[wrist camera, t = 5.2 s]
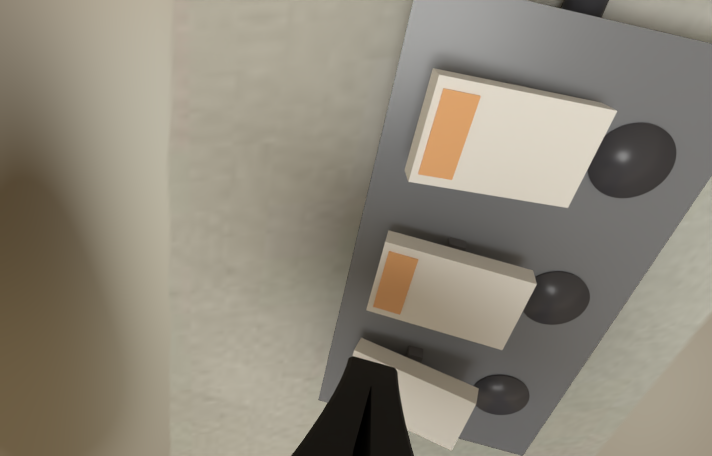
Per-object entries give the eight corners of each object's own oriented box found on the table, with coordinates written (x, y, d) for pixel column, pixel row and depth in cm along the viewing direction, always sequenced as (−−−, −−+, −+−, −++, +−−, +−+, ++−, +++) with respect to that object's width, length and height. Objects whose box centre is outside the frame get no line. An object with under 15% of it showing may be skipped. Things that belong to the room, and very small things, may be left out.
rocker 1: (556, 195, 14) (568, 209, 13) (404, 170, 13) (408, 182, 12) (601, 102, 12) (618, 111, 12) (432, 67, 12) (439, 75, 11)
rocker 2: (500, 334, 16) (502, 351, 15) (370, 296, 16) (365, 311, 16) (532, 270, 15) (537, 285, 14) (388, 230, 15) (384, 242, 14)
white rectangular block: (455, 435, 18) (451, 452, 18) (347, 385, 20) (340, 399, 19) (478, 388, 17) (475, 405, 16) (361, 337, 18) (353, 351, 17)
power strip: (514, 411, 23) (524, 466, 20) (329, 361, 23) (315, 408, 20) (908, -243, 10) (1068, -320, 8) (494, -328, 11) (514, -429, 8)
